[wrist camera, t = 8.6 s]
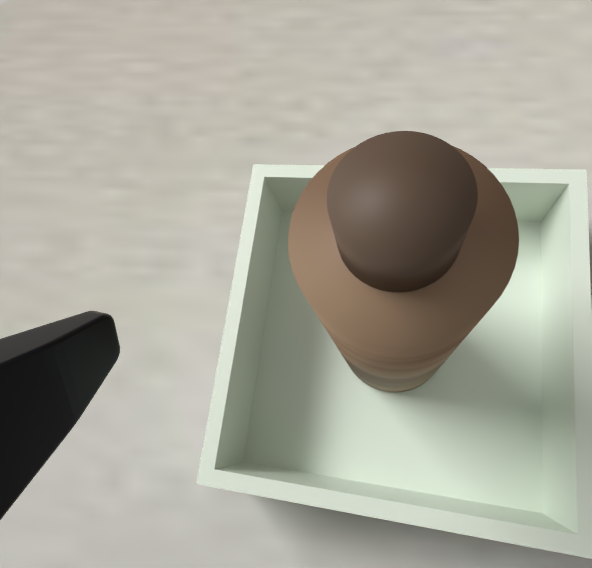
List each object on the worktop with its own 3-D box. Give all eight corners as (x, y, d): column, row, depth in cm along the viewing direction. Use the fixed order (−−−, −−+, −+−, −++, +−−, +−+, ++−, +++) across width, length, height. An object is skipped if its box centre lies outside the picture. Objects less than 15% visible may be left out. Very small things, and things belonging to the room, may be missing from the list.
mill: (441, 398, 19) (549, 341, 6) (337, 385, 20) (249, 313, 7) (446, 297, 20) (544, 79, 8) (347, 290, 21) (287, 84, 8)
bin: (555, 530, 17) (600, 560, 14) (232, 472, 20) (195, 484, 17) (551, 215, 21) (586, 169, 17) (275, 204, 24) (253, 164, 20)
